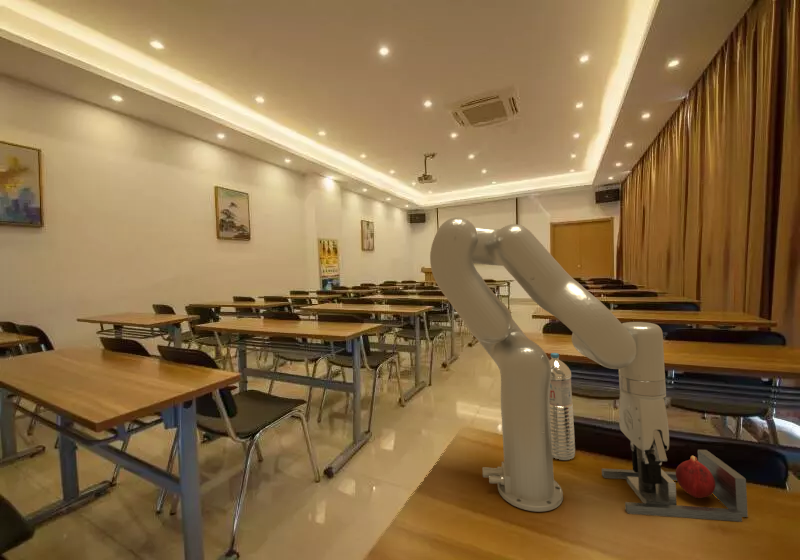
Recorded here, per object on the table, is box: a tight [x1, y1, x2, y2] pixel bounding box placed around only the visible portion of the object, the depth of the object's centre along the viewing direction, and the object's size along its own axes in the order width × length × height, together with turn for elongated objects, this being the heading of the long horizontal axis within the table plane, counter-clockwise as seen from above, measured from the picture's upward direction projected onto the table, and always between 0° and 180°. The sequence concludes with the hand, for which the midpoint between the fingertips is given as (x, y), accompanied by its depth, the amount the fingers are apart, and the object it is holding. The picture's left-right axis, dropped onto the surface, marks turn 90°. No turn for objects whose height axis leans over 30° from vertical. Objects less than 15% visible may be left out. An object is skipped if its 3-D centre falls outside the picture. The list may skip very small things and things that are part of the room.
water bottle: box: [549, 352, 576, 461], centre depth 84 cm, size 7×7×25 cm
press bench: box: [601, 449, 749, 522], centre depth 67 cm, size 20×12×7 cm, turn 79°
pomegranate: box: [675, 455, 715, 499], centre depth 66 cm, size 6×6×8 cm
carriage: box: [626, 445, 677, 505], centre depth 68 cm, size 5×8×12 cm, turn 169°
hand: (646, 476), depth 68 cm, fingers closed on carriage, 2 cm apart
